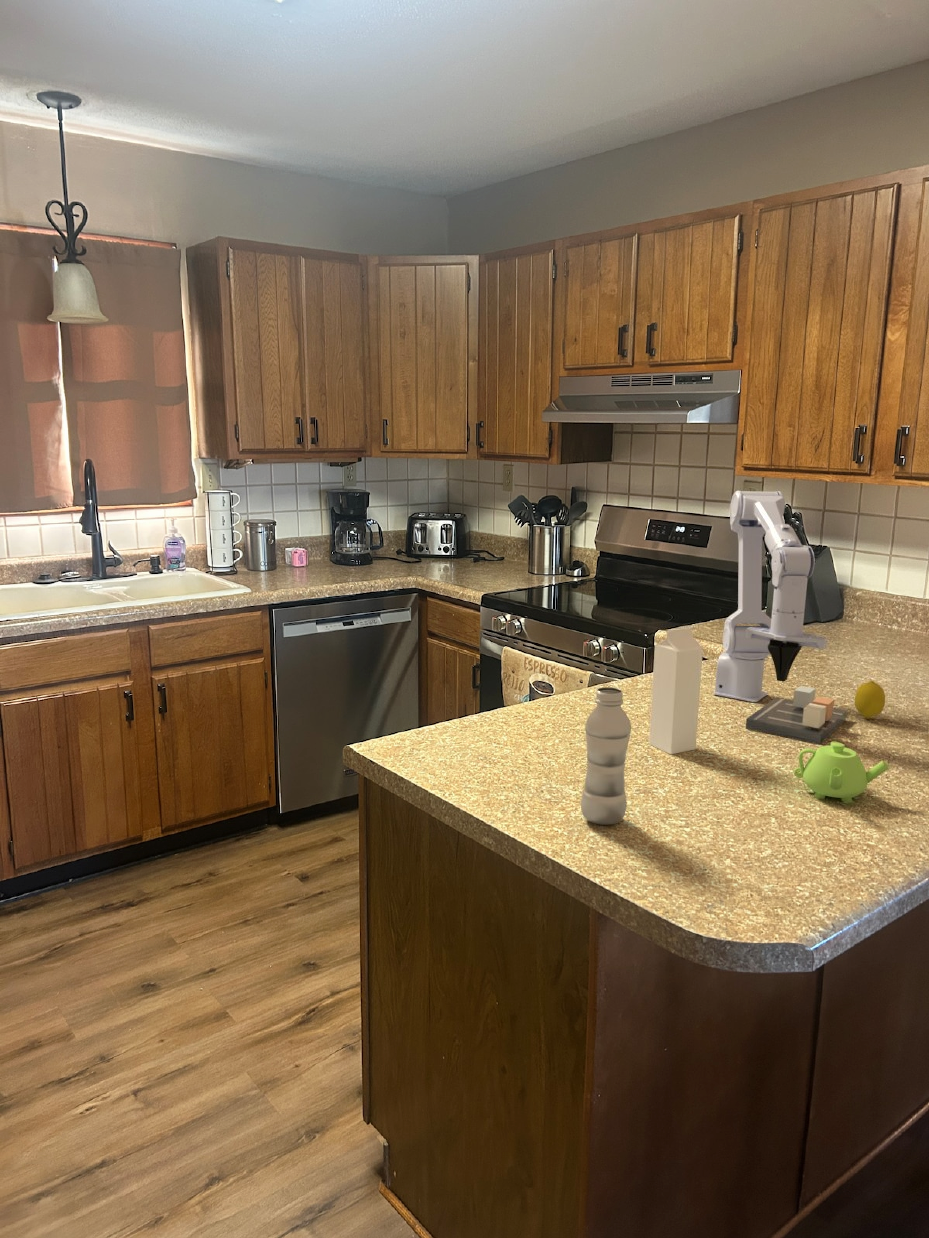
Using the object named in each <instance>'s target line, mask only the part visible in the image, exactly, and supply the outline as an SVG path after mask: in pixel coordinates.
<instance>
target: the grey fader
mask: <svg viewBox="0 0 929 1238" xmlns="http://www.w3.org/2000/svg"><path fill="white" fill-rule="evenodd" d="M793 691H794V692H793V699H792V700H793V706H796V707H801V708H805V707H806V706H807V705H808V704H810V703H812V701H813V700H815V699H816V688H815V687H809V686H804V685H800V686H798V687H797V688H795V689H794V690H793Z"/></svg>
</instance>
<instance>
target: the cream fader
mask: <svg viewBox="0 0 929 1238" xmlns="http://www.w3.org/2000/svg"><path fill="white" fill-rule="evenodd" d="M825 715H826V706H822V705H817V704H812V703H810V704H808V705H807V706H806V707H805V708H804V711H803V721H802V725H804V726H809V727H814V728H820V727H821V726H822V725H823V724H824V723H825Z"/></svg>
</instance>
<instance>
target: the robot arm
mask: <svg viewBox="0 0 929 1238" xmlns="http://www.w3.org/2000/svg"><path fill="white" fill-rule="evenodd" d="M785 500H786V499H785V496H784V494H783V493H782V491H779V490H776V491H760V490H759V491H756V490H755V491H754V490H752V491H751V490H750V491H749V490H746V491H745V490H742V491H741V490H736V491H735V492H734V493H733V494H732V496H731V500H730V506H729V508H730V509H729V510H730V511H729V517H730V518H729V524H730V530H731V531H732V532H735V533H736V534H737V539H738V542H737V543H738V575H737V576H738V583H737V585H738V588H737V589H738V592H737V593H738V594H737V596H738V597H737V599H738V601H737V605H738V607H737V610H736V611H734V612H733V613H732V614H730V615H729V616H728V617H727V618H726V619H725V621H724V628H723V633H722V647H723V649H724V652H721V653H720V655H719V657H718V658H717V659H718V660H717V663H716V673H715V683H714V684H715V685H714V686H715V687H714V692H713V696H714V695H715V696H720V697H724V698H725V697H726V698H732V699H736V700H740V701H741V700H742V701H746V702H751V703H758V702H759V701H760V700H762V699H763V698H765V697H766V696H767V695H769V692H767V691H763V682H764V672H765V671H764V670H765V659H768V656H769V655H770V656H771V657H770V658H771V660H772V662H773V665H774V669H775V676H776V681H778V682H782V683H783V682H786V681H787V680H788V678H789V674H790V670H791V668H792V665H793V663H794V661H795V659H796V658H797V656H798V654H799V652H800V651H801V649H802V648H803V647H806V648H807V647H808V648H815V649H817V650H822V651H824V650H826V649H827V645H828V644H827V643H828V637H823V636H817V635H813V634H809V633H804V632H803V631H804V629H803V628H804V620H805V618H804V617H805V609H806V598H807V590H808V589H807V586H808V579H809V578H811V577H812V575H813V573H814V570H815V565H816V564H815V553H814V551H813V548H812V546H810V545H806V544H805V545H804V544H802V543H801V541H800V539H799V537H798V535H797V534H796V532H795V529H794V528H793V527H792V526H791V525H790V524H788V523H785V521H784V518H783V516H784V514H785V507H786V501H785ZM763 537H764V543H765V545H766V547H767V549H768V552H769V554H770V555H771V571H772V572H771V573H772V574H771V575H772V577H771V581H772V582H771V583H772V586H773V597H772V598H773V599H772V609H771V617H770V616H768V615H767V614H766V613H765V612H764V611H763V610H762V599H763V598H762V589H763V588H762V587H763V586H762V585H763V582H762V581H763V580H762V578H763V575H762V574H763V570H762V568H763V566H762V565H763V559H762V558H763ZM739 624H744V625H739ZM745 624H749V625H745ZM750 624H754V625H750ZM755 624H756V625H755Z"/></svg>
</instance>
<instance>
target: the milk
mask: <svg viewBox="0 0 929 1238" xmlns="http://www.w3.org/2000/svg"><path fill="white" fill-rule="evenodd" d="M703 649H704V648H703V647H702V645H700V643H699V642H698V641H697V640H696V638H695V637H694V636H693V627H686V628H678V629H677V628H676V629H670V630H669V629H668V630H667V632H666V639H664V640H662V641H660V642H657V643H656V644H655V645H654V655H653V657H654V659H653V673H652V687H651V688H652V689H651V690H652V691H651V705H650V718H649V719H650V720H649V721H650V723H649V737H648V744H649V746H652V747H654V748H656V749H658V750H660V751H663V752H665V753H667V754H669V755H674V754H678V753H684V752H689V751H693V750H696V749H697V738H698V737H697V735H698V724H699V723H698V722H699V721H698V720H699V708H700V697H701V696H700V692H701V682H702V681H701V680H702V667H703V665H702V664H703V653H704V652H703V651H704V650H703Z"/></svg>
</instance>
